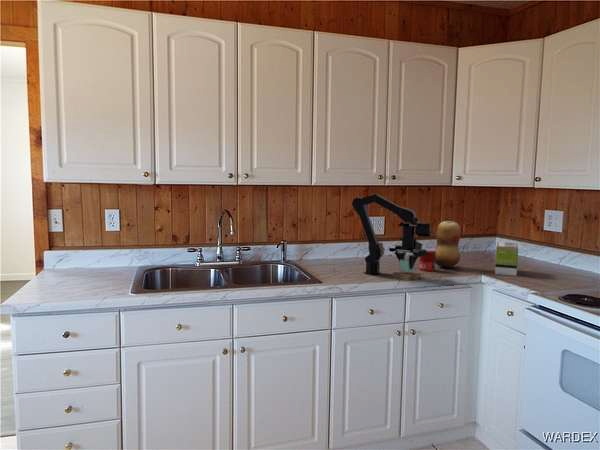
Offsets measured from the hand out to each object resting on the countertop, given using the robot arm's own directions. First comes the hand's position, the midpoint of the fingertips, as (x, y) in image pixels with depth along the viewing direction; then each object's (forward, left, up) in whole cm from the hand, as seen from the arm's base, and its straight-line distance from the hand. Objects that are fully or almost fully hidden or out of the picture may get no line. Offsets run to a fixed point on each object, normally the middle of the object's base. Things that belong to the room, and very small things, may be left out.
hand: (406, 268), depth 199 cm
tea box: (+52, -21, -5) cm, 56 cm away
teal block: (0, 0, -1) cm, 1 cm away
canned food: (+22, +5, -5) cm, 23 cm away
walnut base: (0, 0, -4) cm, 5 cm away
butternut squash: (+36, +3, -5) cm, 36 cm away
